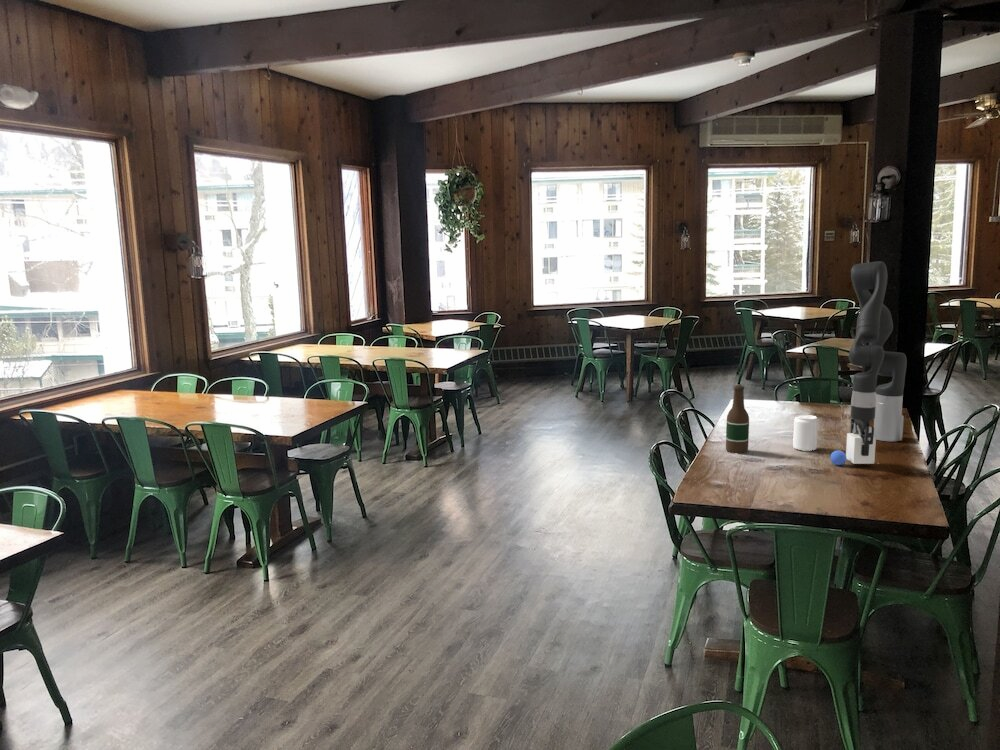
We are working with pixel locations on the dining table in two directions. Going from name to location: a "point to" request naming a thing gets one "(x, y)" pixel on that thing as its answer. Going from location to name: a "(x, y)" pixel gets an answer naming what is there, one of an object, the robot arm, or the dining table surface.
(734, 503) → the dining table surface
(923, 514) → the dining table surface
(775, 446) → the dining table surface
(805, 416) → the beverage can
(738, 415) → the beer bottle
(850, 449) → the white matte cube
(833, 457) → the ball
